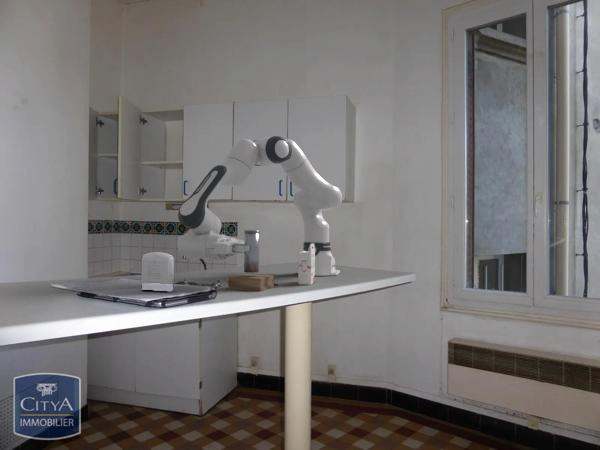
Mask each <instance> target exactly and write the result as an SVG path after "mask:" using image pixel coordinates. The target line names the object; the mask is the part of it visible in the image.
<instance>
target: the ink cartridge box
mask: <svg viewBox="0 0 600 450" xmlns="http://www.w3.org/2000/svg"><path fill="white" fill-rule="evenodd" d="M312 247H313V249H312ZM297 254H298V256H297V257H298V258H297V259H298V262H297V263H298V265H297V266H298V270H297V271H299V273H298V285H306V286H307V285H312V284H314V283H315V281H316V280H315V279H316V276H315V246H314V244H310V251H304V250H303V251H298V253H297Z"/></svg>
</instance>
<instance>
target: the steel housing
mask: <svg viewBox="0 0 600 450" xmlns="http://www.w3.org/2000/svg"><path fill="white" fill-rule="evenodd" d="M243 232H244V235H243V236H244V239H243V240H244V246H250V247H251V248H250V249H251V250H250V251H244V253H243V273H246V274H253V273H254V274H255V273H259V272H260V232H261V231H260V229H259V230H257V229H255V230H253V229H251V230H249V229H248V230H247V229H245V230H243Z"/></svg>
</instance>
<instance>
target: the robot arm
mask: <svg viewBox="0 0 600 450" xmlns="http://www.w3.org/2000/svg"><path fill="white" fill-rule="evenodd" d="M275 164H277V165H280V166H281V168H282V170H283V171H284V173H285V174H286V176H287V177H288V179H289V180H290V182H291V183H292V185H293V186H294V187H296V188H298V190H296V192H295V193H294V195H293V204H294V207H295V208H297V210H298V212H299V213H300V214H301V215H300V216H301V218H302V221H303V222H302V223H303V226H304V227H303V229H304V230H303V231H304V232H303V233H304V235H303V236H304V240H303V245H302V247H303V248H302V250H303V251H310V244H314V246H315V277H317V276H318V277H319V276H322V277H325V276H338V275H339V274H340V273H341V269H340V270H339V269H336V259H335V257H334V256H333V254H332V252H331V250H332V247H333V246H332V243H331V242H330V224H329V223H328V221H326V220H325V219H324V216H323V213H322V212H329V211H332V210H336V209H338V208H339V207H340V206H341V205H342V201H343V194H342V191H341V190H340V188H339V187H338V186H335V185H332V184H331V183H330V182H328V181H327V180H325V179H324V178H323V176H321V175H320V174H319V173H318V172H317V171H316V169H315V168H314V167H313V165H312V163H311V162H310V161H309V159H308V158H307V156H306V155H305V153H304V152H303V150H302V149H301V147H300V146H299V145H298V144H297V143H296V142H295V140H292V139H291V138H287V139H286V138H284V137H282V136H278V135H274V136H265V137H262V138H259V139H255V140H251V139H249V138H241V139H239V140H237V142H235V143H234V145H233V147H231V148H230V150H229V152H228V153H227V155H226V156H225V158H224V160H223V161H222V162H221V163H220V164H218V165H215V166H213V167H212V168H211V169H210V170H209V172H208V173H207V174H206V175H205V177H204V178H203V179H202V181H201V182H200V184H198V186H197V187H196V188H195V190H194V191H193V192H192V194H191V195H190V196H189V197H188V198H186V200H185V201H183V202H182V203H181V205H180V206H179V209H178V212H177V219H178V222H179V223H180V224H181V225H182V226H184V227H185V228H188V229H189V230H187V232H186V233H183V234H182V235H181V236H179V237H178V239H177V249H178V252H179V253H180V255H182V257H186V258H187V259H189V258H190V259H197V260H198V259H199V260H202V259H203V260H204V259H208V260H218V261H223V260H225V259H227V258H229V257H231V256H232V257H233V256H235V255H238V254H244V251H250V250H251V249H250V248H251V247H250V246H244V239H237V238H236V237H233V236H232V237H231V236H228V235H226V234H220V233H221V231H222V226H223V224H222V221H221V219H220V218H219V217H218V216H217V215H216V214H215V212H213V211H212V210H210V209H209V208H208V202H209V200H211V198H212V196H213V195H214V193H215V192H216V191H217V190H218V189H219V187H221V186H223V185H225V186H228V187H232V188H235V187H240V186H242V185H244V184H245V183H246V182H247V181H248V179H249V177H250V175H251V173H252V171H253V169H254V168H255V167H263V166H265V167H266V166H267V167H268V166H271V165H272V166H273V165H275ZM312 249H313V247H312ZM296 274H299V271H298V270H296Z"/></svg>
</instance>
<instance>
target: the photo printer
mask: <svg viewBox="0 0 600 450" xmlns="http://www.w3.org/2000/svg"><path fill="white" fill-rule="evenodd" d="M174 271H175V258H174V256H173V255H172V254H169V253H166V252H161V251H159V252H158V251H156V252H155V251H153V252H147V253H145V254H143V256H142V258H141V280H140V281H141V282H140V283H160V284H173V285H174V284H175V283H174V280H175V278H174V275H175V272H174Z"/></svg>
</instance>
